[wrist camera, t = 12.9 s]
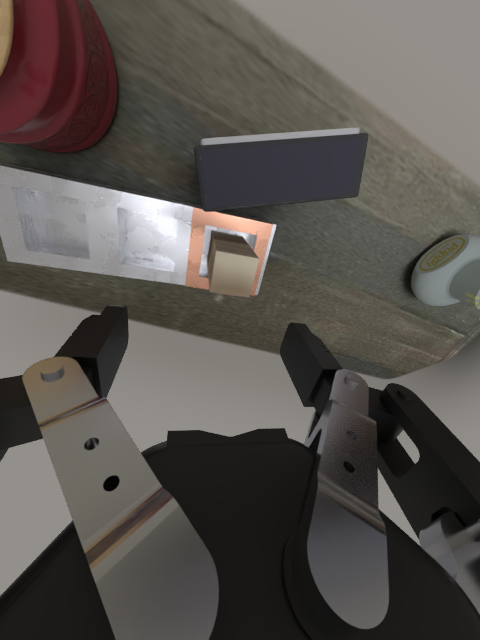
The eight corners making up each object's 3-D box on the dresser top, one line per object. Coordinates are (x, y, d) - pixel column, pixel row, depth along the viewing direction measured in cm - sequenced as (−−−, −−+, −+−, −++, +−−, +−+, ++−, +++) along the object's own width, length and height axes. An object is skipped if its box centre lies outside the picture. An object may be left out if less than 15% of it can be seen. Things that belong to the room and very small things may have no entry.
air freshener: (413, 303, 41) (468, 335, 33) (393, 275, 37) (449, 302, 29) (472, 257, 38) (551, 279, 29) (457, 220, 34) (541, 234, 26)
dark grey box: (291, 146, 27) (375, 115, 14) (290, 189, 29) (361, 196, 16) (195, 154, 26) (190, 128, 13) (201, 197, 28) (202, 212, 15)
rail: (11, 163, 24) (-23, 160, 20) (267, 219, 30) (277, 225, 27) (30, 251, 28) (5, 261, 24) (251, 283, 35) (258, 296, 31)
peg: (211, 230, 29) (216, 250, 20) (242, 236, 30) (259, 258, 21) (206, 261, 31) (209, 292, 22) (236, 266, 32) (249, 297, 23)
